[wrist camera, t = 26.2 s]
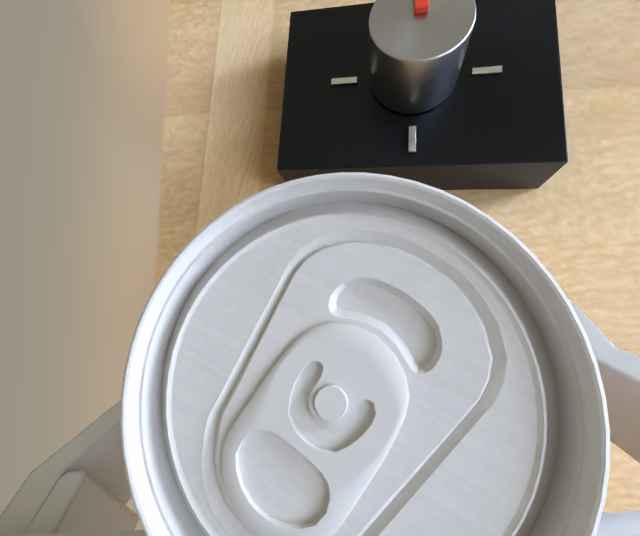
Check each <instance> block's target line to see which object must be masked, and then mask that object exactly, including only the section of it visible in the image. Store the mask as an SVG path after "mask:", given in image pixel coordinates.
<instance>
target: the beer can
mask: <svg viewBox="0 0 640 536" xmlns="http://www.w3.org/2000/svg"><path fill="white" fill-rule="evenodd" d="M120 425H121V440H122V452H123V458H124V464H125V470H126V477H127V481H128V484H129V488H130V492H131V496H132V499H133V503H134V506H135V509H136V511H137V514H138V517H139V519H140V522H141V525H142V527H143V530H144V533H145V535H146V536H596V534H597V530H598V526H599V523H600V519H601V515H602V511H603V508H604V504H605V500H606V492H607V485H608V477H609V470H610V427H609V418H608V410H607V402H606V396H605V391H604V387H603V383H602V379H601V375H600V371H599V367H598V363H597V361H596V358H595V355H594V353H593V350H592V347H591V345H590V342H589V339H588V337H587V334H586V332H585V330H584V328H583V326H582V324H581V322H580V320H579V318H578V316H577V314H576V312H575V310H574V308H573V306H572V304H571V303H570V301H569V300H568V298H567V297H566V295H565V294H564V292H563V291H562V289H561V288H560V286H559V285H558V283H557V282H556V280H555V279H554V277H553V276H552V275H551V274H550V273H549V271H548V270H547V269H546V268H545V267H544V265H543V264H542V263H541V262H540V261H539V259H538V258H537V257H536V256H535V255H534V254H533V253H532V252H531V251H530V250H529V249H528V248H527V247H526V246H525V245H524V244H523V243H522V242H521V241H520V240H519V239H518V238H517V237H516V236H515V235H514V234H512V233H511V232H510V231H509V230H507V229H506V228H505V227H503V226H502V225H501V224H500V223H498V222H497V221H496V220H494V219H493V218H492V217H490V216H489V215H487V214H486V213H484V212H482V211H481V210H479V209H477V208H476V207H474V206H473V205H471V204H469V203H468V202H466V201H464V200H462V199H460V198H457V197H455V196H453V195H451V194H449V193H447V192H445V191H443V190H440V189H437V188H434V187H432V186H429V185H426V184H423V183H420V182H417V181H413V180H409V179H404V178H400V177H395V176H391V175H383V174H374V173H365V172H339V173H330V174H320V175H313V176H309V177H304V178H299V179H295V180H291V181H288V182H285V183H282V184H279V185H276V186H273V187H270V188H267V189H265V190H263V191H261V192H259V193H256V194H254V195H252V196H250V197H248V198H246V199H244V200H243V201H241V202H239V203H237V204H236V205H234V206H232V207H231V208H229V209H227V210H226V211H225V212H223V213H222V214H221V215H219V216H218V217H217V218H215V219H214V220H213V221H211V222H210V223H208V224H207V225H206V226H205V227H204V228H203V229H202V230H201V231H200V232H199V233H198V234H196V235H195V236H194V237H193V238H192V239H191V240H190V241H189V242H188V243H187V245H186V246H185V247H184V248H183V249H182V250H181V251H180V252H179V254H178V255H177V256H176V257H175V258H174V260H173V261H172V262H171V264H170V265H169V267H168V268H167V269H166V271H165V272H164V274H163V275H162V276H161V278H160V280H159V281H158V283H157V285H156V287H155V288H154V290H153V292H152V293H151V295H150V297H149V299H148V301H147V303H146V306H145V308H144V310H143V312H142V314H141V317H140V319H139V321H138V324H137V327H136V330H135V333H134V336H133V339H132V342H131V345H130V349H129V353H128V358H127V362H126V366H125V371H124V379H123V386H122V394H121V418H120Z"/></svg>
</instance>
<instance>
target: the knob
mask: <svg viewBox="0 0 640 536" xmlns="http://www.w3.org/2000/svg"><path fill="white" fill-rule="evenodd" d="M475 21H476V4H475V0H376V1H375V3H374V5H373V7H372V9H371V12H370V16H369V55H370V83H371V88H372V91H373V93H374V95H375V97H376V98H377V100H378V101H379V102H380V103H381V104H382V105H384V106H385V107H387V108H388V109H390V110H392V111H395V112H398V113H404V114H416V113H421V112H425V111H428V110H430V109H433V108H434V107H436V106H438V105H439V104H441V103H442V102H443V101H444V100H445V99H446V98H447V97H448V96H449V95H450V94H451V92H452V90H453V89H454V87H455V84H456V81H457V78H458V75H459V72H460V69H461V65H462V62H463V59H464V56H465V53H466V50H467V46H468V43H469V40H470V37H471V34H472V31H473V27H474V24H475Z"/></svg>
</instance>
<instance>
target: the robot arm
mask: <svg viewBox="0 0 640 536" xmlns="http://www.w3.org/2000/svg"><path fill="white" fill-rule="evenodd" d="M570 303H571V304H572V306H573V308H574V310H575V312H576V314H577V316H578V318H579V320H580V322H581V324H582V326H583V328H584V330H585V332H586V334H587V337H588V339H589V342H590V345H591V347H592V350H593V353H594V355H595V358H596V361H597V363H598V367H599V371H600V375H601V379H602V383H603V387H604V391H605V396H606V402H607V410H608V418H609V427H610V441H612V442H613V443H614V444H616V445H617V446H618V447H620V448H621V449H622V450H623V451H625V452H626V453H627V454H629V455H630V456H631V457H633V458H634V459H635V460H637V461H638V462H639V463H640V356H639V355H637V354H635V353H632V352H630V351H628V350H618V349H617V348H616V347H615V346H614V345H613V344H612V343H611V342H610V341H609V340H608V339H607V338H606V336H605V335H604V334H603V333H602V332H601V331H600V330H599V329H598V328H597V327H596V326H595V325H594V324H593V323H592V322H591V321H590V320H589V319H588V317H587V316H586V315H585V314H584V313H583V312H582V311H581V310H580V309H579V308H578V307H577V306H576V305H575V304H574V303H572V302H570ZM120 418H121V400H120V401H119V402H118V403H116V404H115V405H114V406H113V407H111V408H110V409H109V410H108V411H106V412H105V413H104V414H103V415H102V416H100V417H99V418H98V419H97V420H95V421H94V422H93V423H92V424H90V425H89V426H88V427H87V428H85V429H84V430H83V431H82V432H80V433H79V434H78V435H77V436H76V437H74V438H73V439H72V440H71V441H69V442H68V443H67V444H66V445H64V446H63V447H62V448H61V449H59V450H58V451H57V452H56V453H54V454H53V455H52V456H51V457H50V458H48V459H47V460H46V461H45V462H43V463H42V464H41V465H40V466H38V467H37V468H36V469H35V470H33V471H32V472H31V473H30V475H29V476H28V477H27V479H26V480H25V482H24V483H23V484H22V486H21V487H20V489H19V490H18V492H17V493H16V494H15V496H14V497H13V498H12V500H11V501H10V503H9V504H8V506H7V507H6V508H5V510H4V511H3V512H2V514H1V515H0V536H146V535H145V533H144V530H134V529H135V527H136V524H137V522H138V517H137V514H136V513H134V512H133V511H132V510H131V509H130V508H129V507H127V506H126V505H125V504H126V503H127V502H128V501H129V499H130V498H131V497H132V496H131V492H130V488H129V484H128V481H127V477H126V470H125V464H124V458H123V452H122V440H121V425H120ZM596 536H640V511H621V512H602V515H601V519H600V523H599V526H598V530H597V534H596Z"/></svg>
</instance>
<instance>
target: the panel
mask: <svg viewBox="0 0 640 536" xmlns="http://www.w3.org/2000/svg"><path fill="white" fill-rule="evenodd" d="M475 4H476V21H475V24H474V27H473V31H472V34H471V37H470V40H469V43H468V46H467V50H466V53H465V56H464V59H463V62H462V65H461V69H460V72H459V75H458V78H457V81H456V84H455V87H454V89H453V90H452V92H451V94H450V95H449V96H448V97H447V98H446V99H445V100H444V101H443V102H442V103H441V104H439V105H438V106H436V107H434V108H433V109H430V110H428V111H425V112H421V113H416V114H404V113H398V112H395V111H392V110H390V109H388V108H387V107H385V106H384V105H382V104H381V103H380V102H379V101H378V100H377V98H376V97H375V95H374V93H373V91H372V88H371V83H370V55H369V16H370V12H371V9H372V7H373V5H374V3H367V4H358V5H350V6H341V7H332V8H323V9H314V10H306V11H297V12H291V17H290V28H289V40H288V51H287V63H286V74H285V85H284V97H283V108H282V120H281V131H280V143H279V154H278V166H277V170H278V171H279V173H280V175H281V176H282V178H283V180H284V181H285V182H288V181H291V180H295V179H299V178H304V177H309V176H313V175H320V174H330V173H339V172H365V173H374V174H383V175H391V176H395V177H400V178H404V179H409V180H413V181H417V182H420V183H423V184H426V185H429V186H432V187H434V188H437V189H440V190H458V189H527V188H539V187H540V186H541V185H542V184H543V183H545V182H546V181H547V180H548V179H549V178H550V177H551V176H552V175H554V174H555V173H556V172H557V171H558V170H559V169H560V168H561V167H563V166H564V165H565V164H566V163H567V162H568V154H567V141H566V129H565V116H564V104H563V92H562V79H561V67H560V54H559V42H558V29H557V17H556V5H555V0H475Z"/></svg>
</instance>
